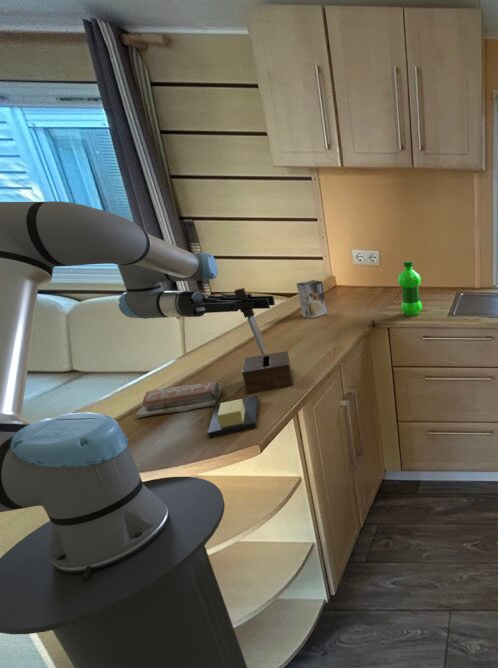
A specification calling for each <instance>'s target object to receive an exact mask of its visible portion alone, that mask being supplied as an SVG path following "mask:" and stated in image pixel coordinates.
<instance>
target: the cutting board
mask: <svg viewBox="0 0 498 668" xmlns="http://www.w3.org/2000/svg"><path fill="white" fill-rule="evenodd" d="M239 399H240V398H239ZM239 399H237V400H239ZM241 399H242V400H243V404H244V408H245V415H244V422H243V423H242V424H237V425H232V426H228V427H223V428H221V426H220V423H219V419H218V416H217V415H218V412H219V408H220V404H221V403H223V402H224V401H223V402H216V404H215V405H214V406H215V407H214V410H213V414H212V416H211V417H212V418H211V421H210V424H209V428H208V432H207V436H208V438H209V439H211V438H215V437H220V436H225V435H230V434H234V433H239V432H243V431H248V430H251V429H256V428H257V426H258V425H257V422H258V411H259V396H258V395H255V396H248V397H244V398H241ZM234 400H235V399H233V400H232V401H234Z"/></svg>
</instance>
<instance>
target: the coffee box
mask: <svg viewBox="0 0 498 668" xmlns="http://www.w3.org/2000/svg"><path fill="white" fill-rule="evenodd" d="M296 287H297V293H298V298H299V303H300V304H299V305H300V308H301V315H302V317H303V318H308V319H314V318H319V317H321V316H324V315H327V314H328V309H327V305H326V304H327V303H326V299H325V293H324V286H323V281H321V280H315V279H312V280H308V281H307V280H306V281H301V282H297V283H296ZM325 312H326V313H325Z"/></svg>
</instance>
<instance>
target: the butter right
mask: <svg viewBox="0 0 498 668" xmlns="http://www.w3.org/2000/svg"><path fill="white" fill-rule="evenodd" d="M242 399H243V398H239V400H238V399H233V400H234V401H233V400H230V401H231V406H230V411H229V415H230V419H231V423H232V425H237V424H242V423H243V422H244V415H245V408H244V404H243V400H242Z"/></svg>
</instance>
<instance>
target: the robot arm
mask: <svg viewBox="0 0 498 668" xmlns="http://www.w3.org/2000/svg"><path fill="white" fill-rule="evenodd" d="M105 264H106V265H108V264H111V265H112V264H114V265H117V269H118V270H119V273H120V276H121V279H122V282H123V285H124V288H125V292H123V293H122V294H120V296H119V298H118V302H119V303H118V304H117V305H118V308H119V310H120V312H121V313H122V314H123V315H124V316H125V317H127V318H130V319H144V320H145V319H146V320H147V319H160V318H161V319H163V318H164V319H165V318H176V320H180V319H181V318H185V317H186V318H201V317H203V316H204V315H205V314H213V313H230V312H233V313H234V312H235V313H236V312H239V310H240V313H243V312H245V311H244V308H245V309H253V310H262V309H267V310H268V309H270V308H271V306H275V305H276V302H275V296H274V295H252V294H251V293H250V292H249V293H247V296H248V298H249V299H244V300H243V302H242V300H237V297H236V295H235V293H234V294H232V293H231V294H227V293H220V294H219V295H214V294H211V295H207V296H206V295H205V294H204V293H203V292H202V291H199V290H162V285H161V283H175V282H194V281H202V282H204V281H208V280H209V281H210V280H215V279H216V278H217V277H218V273H219V268H218V263H217V260H216V258H215V257H214V256H213V254H211V253H207V252H206V253H205V252H198V253H197V252H196V253H195V252H194V253H193V252H190V251H189V250H186V249H183V248H181V247H179V246H177V245H174V244H173V243H170V242H168V241H166V240H163V239H161V238H159V237H156V236H154V235H152V234H149V233H148V232H147V231H146V229H145V228H143V226H141V225H140V224H138V223H137V222H134V221H132V220H130V219H129V218H125V217H123V216H121V215H118V214H115V213H113V212H109V211H106V210H103V209H100V208H96V207H92V206H89V205H86V204H85V205H84V204H81V203H75V202H69V201H59V200H58V201H57V200H55V201H54V200H53V201H52V200H51V201H0V513H4V512H11V511H17V510H22V509H27V508H34V507H42V508H43V509H44V512H45V513H46V515H47V517H48V519H49V521H51V523H52V532H51V548H50V556H51V561H52V563H53V565H54V567H55V568H56V570H57V571H58V572H60V573H63V574H66V575H82V574H84V575H83V578H82V580H87V579H89V576H90V573H93V572H96V571H100V570H103V569H106V568H109V567H111V566H114V565H116V564H118V563H120V562H123V561H125V560H127V559H128V558H130V557H132V556H134V555H135V554H137V553H139V552H140V551H142V550H143V549H145V548H146V547H147V546H149V545H150V544H151V543H152V542H153V541H155V540H156V539H157V538H158V537H159V536H160V535H161V534H162V532H163V531H164V530H165V528H166V527H167V525H168V522H169V518H170V516H169V512H168V510H167V507H166V505H165V504H164V503H163V502H162V501H161V500H160V499H159V498H158V497H157V496H156V495H154V494H153V493H152V492H151V491H150V490H149V489H148V488H147V487H145V486H144V485H143V482H144V481H143V480H142V478H141V474H140V472H139V469H138V466H137V464H136V461H135V459H134V455H133V453H132V451H131V448H130V446H129V441H128V437H127V435H126V434H125V433H124V431H123V430H122V428H121V426H120V423H119V422H118V421H117V420H116V419H114V418H113V417H112V416H110V415H107V414H104V413H99V412H89V411H87V412H85V411H84V412H70V413H64V414H59V415H56V416H55V417H51V418H49V417H47V418H43V419H40V420H37V421H34V422H32V423H31V421H29V420H27V419H26V418H24V417H23V408H24V402H25V401H24V400H25V392H26V384H27V377H28V370H29V363H30V354H31V346H32V339H33V331H34V323H35V315H36V308H37V307H36V306H37V299H38V292H39V289H41V288H43V287H45V286H47V285H48V286H49V284H51V282H52V280H53V273H54V268H58V267H73V266H75V267H76V266H87V265H88V266H89V265H90V266H91V265H105Z"/></svg>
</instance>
